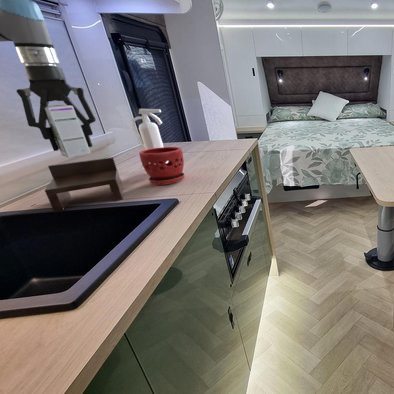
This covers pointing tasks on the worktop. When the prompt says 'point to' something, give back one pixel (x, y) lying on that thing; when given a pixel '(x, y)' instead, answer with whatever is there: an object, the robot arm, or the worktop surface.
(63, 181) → the bench
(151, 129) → the fire extinguisher
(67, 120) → the syrup box
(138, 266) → the worktop surface
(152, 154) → the flower pot
